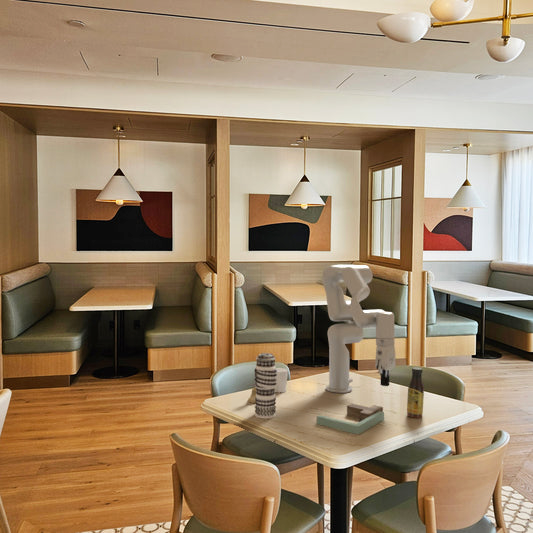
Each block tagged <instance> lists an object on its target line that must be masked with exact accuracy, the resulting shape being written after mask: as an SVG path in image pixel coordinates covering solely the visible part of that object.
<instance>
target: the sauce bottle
mask: <svg viewBox="0 0 533 533" xmlns="http://www.w3.org/2000/svg"><path fill="white" fill-rule="evenodd" d="M411 368H412V369H411V371H412V372H411V373H412V374H411V380H410V383H409V385H408V388H407V401H406V402H407V403H406V415H407V416H408V417H410V418H413V417H414V419H419V417H420V418H422V417H423V413H424V411H423V410H424V398H425V396H424V395H425V384H424V382H423V381H422V380H423V379H422V374H423V368H421V367H418V366H414V367H411Z"/></svg>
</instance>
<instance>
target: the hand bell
mask: <svg viewBox="0 0 533 533" xmlns="http://www.w3.org/2000/svg"><path fill="white" fill-rule="evenodd" d="M256 371H257V370H256ZM255 374H256V373H255V372H254V375H255ZM249 396H250V397H248V399H247V402H249V403H250V404H255V402H256V400H255V398H256V387H253V388H252V389H251V395H249Z"/></svg>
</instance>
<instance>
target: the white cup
mask: <svg viewBox="0 0 533 533" xmlns="http://www.w3.org/2000/svg"><path fill="white" fill-rule="evenodd" d="M275 370H277V372H276V373H275V374H277V376H275V379H276V381H275V383H276V387H275V393H280V392H281V393H285V392H286V391H287V384H288V373H289V372H288V369H287V368H285V367H283V368H282V367H275Z"/></svg>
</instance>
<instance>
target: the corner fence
mask: <svg viewBox="0 0 533 533" xmlns="http://www.w3.org/2000/svg"><path fill="white" fill-rule="evenodd" d="M384 420H385V411H383V412H381V411H379V412H377V413H375V414H373V415H371V416H370V417H368V418H366V419H364V420H362V421H360V422H359V421H358V422H357V423H354V422H350V421H346V420H342V419H337V418H334V417H330V416H326V415H321V414H318V415H317V416H316V425H320V426H323V427H327V428H331V429H335V430H339V431H342V432H347V433H351V434H355V435H359V434H362V433H363V432H365V431H367V430H368V429H370V428H372V427H374V426H375V425H377V424H379V423H381V422H382V421H384Z"/></svg>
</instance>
